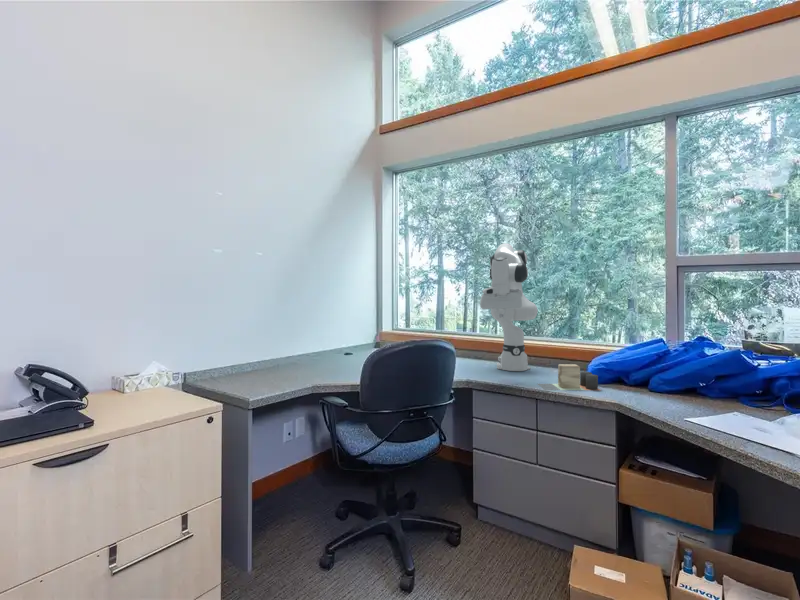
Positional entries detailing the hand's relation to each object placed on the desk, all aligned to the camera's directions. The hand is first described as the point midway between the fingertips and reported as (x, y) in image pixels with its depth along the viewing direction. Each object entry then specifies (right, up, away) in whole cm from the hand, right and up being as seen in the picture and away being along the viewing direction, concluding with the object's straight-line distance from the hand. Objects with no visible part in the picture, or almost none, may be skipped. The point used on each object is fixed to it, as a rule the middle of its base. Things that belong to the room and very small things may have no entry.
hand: (501, 317), depth 200 cm
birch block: (+27, -32, -15) cm, 44 cm away
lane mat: (+27, -32, -15) cm, 45 cm away
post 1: (+37, -31, -12) cm, 50 cm away
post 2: (+37, -32, -18) cm, 52 cm away
